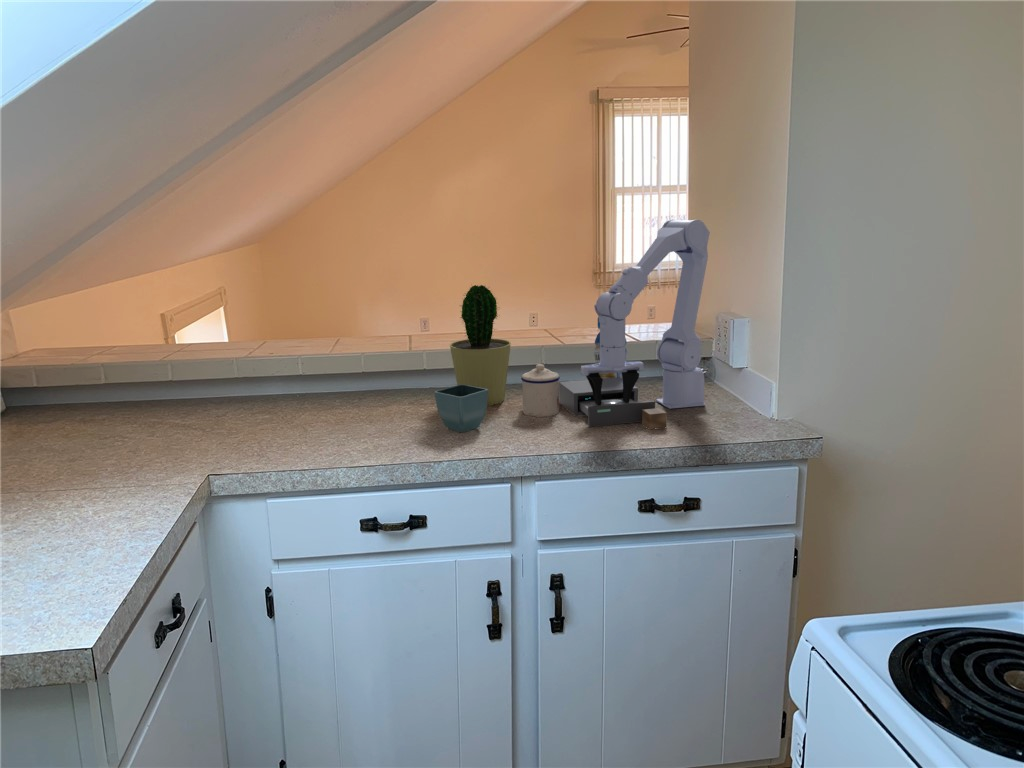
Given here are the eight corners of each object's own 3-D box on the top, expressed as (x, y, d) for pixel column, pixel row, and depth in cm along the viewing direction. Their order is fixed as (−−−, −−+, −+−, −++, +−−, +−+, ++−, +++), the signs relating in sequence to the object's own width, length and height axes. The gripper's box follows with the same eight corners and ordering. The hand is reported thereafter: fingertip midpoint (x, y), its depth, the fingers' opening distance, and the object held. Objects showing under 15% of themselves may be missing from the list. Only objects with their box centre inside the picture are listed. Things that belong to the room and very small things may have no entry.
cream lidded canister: (566, 414, 176) (566, 366, 173) (532, 419, 172) (531, 370, 169) (543, 402, 186) (542, 357, 183) (510, 407, 182) (509, 361, 180)
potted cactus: (448, 408, 183) (442, 286, 176) (455, 393, 198) (450, 280, 191) (511, 408, 182) (507, 285, 175) (513, 392, 197) (510, 279, 190)
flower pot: (434, 429, 166) (432, 391, 164) (463, 421, 172) (461, 383, 170) (461, 437, 160) (460, 397, 158) (490, 428, 166) (489, 389, 164)
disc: (618, 405, 175) (618, 398, 175) (628, 411, 170) (628, 404, 170) (596, 407, 174) (596, 400, 174) (605, 413, 169) (605, 406, 168)
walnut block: (658, 423, 167) (659, 408, 166) (666, 428, 163) (666, 412, 162) (642, 424, 166) (642, 409, 165) (649, 429, 162) (649, 414, 161)
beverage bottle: (631, 393, 193) (632, 317, 188) (601, 396, 190) (601, 319, 186) (618, 386, 200) (619, 312, 196) (589, 389, 198) (589, 315, 194)
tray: (634, 406, 179) (634, 389, 178) (655, 420, 168) (655, 401, 167) (572, 412, 176) (572, 394, 175) (589, 426, 164) (589, 407, 163)
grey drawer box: (619, 397, 189) (619, 377, 188) (639, 410, 177) (639, 388, 176) (559, 402, 186) (559, 382, 185) (575, 416, 173) (575, 394, 172)
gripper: (588, 350, 163) (588, 410, 166) (649, 346, 166) (648, 404, 170) (577, 345, 170) (578, 402, 173) (637, 341, 173) (636, 397, 176)
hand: (612, 403), depth 172 cm, fingers open, 6 cm apart
